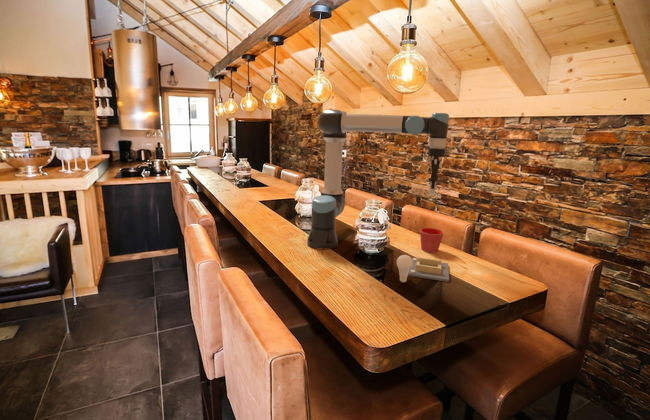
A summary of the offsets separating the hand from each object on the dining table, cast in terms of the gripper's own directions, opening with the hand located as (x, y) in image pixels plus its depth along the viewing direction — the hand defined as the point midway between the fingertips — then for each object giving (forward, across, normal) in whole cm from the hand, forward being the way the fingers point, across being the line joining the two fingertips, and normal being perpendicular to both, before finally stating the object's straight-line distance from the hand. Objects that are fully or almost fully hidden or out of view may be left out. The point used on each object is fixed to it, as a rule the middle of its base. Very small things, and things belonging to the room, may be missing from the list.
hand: (432, 193), depth 169 cm
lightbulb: (+28, -43, +7) cm, 52 cm away
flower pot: (+28, 0, -2) cm, 28 cm away
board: (+28, -27, -2) cm, 39 cm away
